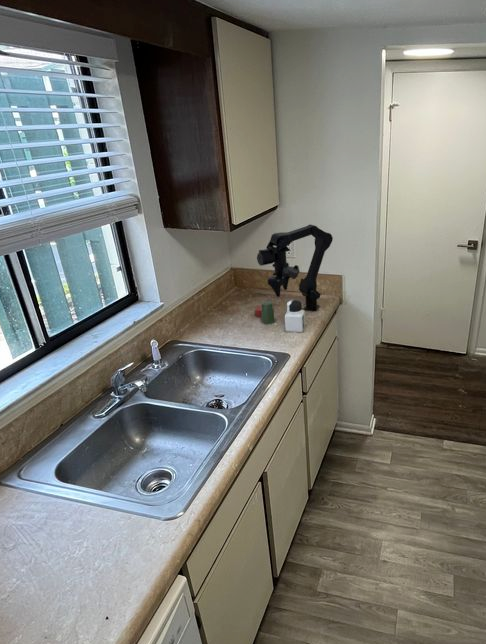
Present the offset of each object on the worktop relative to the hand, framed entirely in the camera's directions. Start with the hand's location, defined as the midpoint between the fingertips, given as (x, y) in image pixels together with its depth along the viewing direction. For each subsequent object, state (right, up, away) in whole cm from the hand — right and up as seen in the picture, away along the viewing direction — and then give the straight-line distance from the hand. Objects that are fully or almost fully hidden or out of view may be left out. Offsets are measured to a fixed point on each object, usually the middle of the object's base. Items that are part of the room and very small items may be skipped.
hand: (282, 293), depth 205 cm
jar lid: (-11, -10, +7) cm, 16 cm away
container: (+7, -16, -7) cm, 19 cm away
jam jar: (-7, -13, 0) cm, 15 cm away
